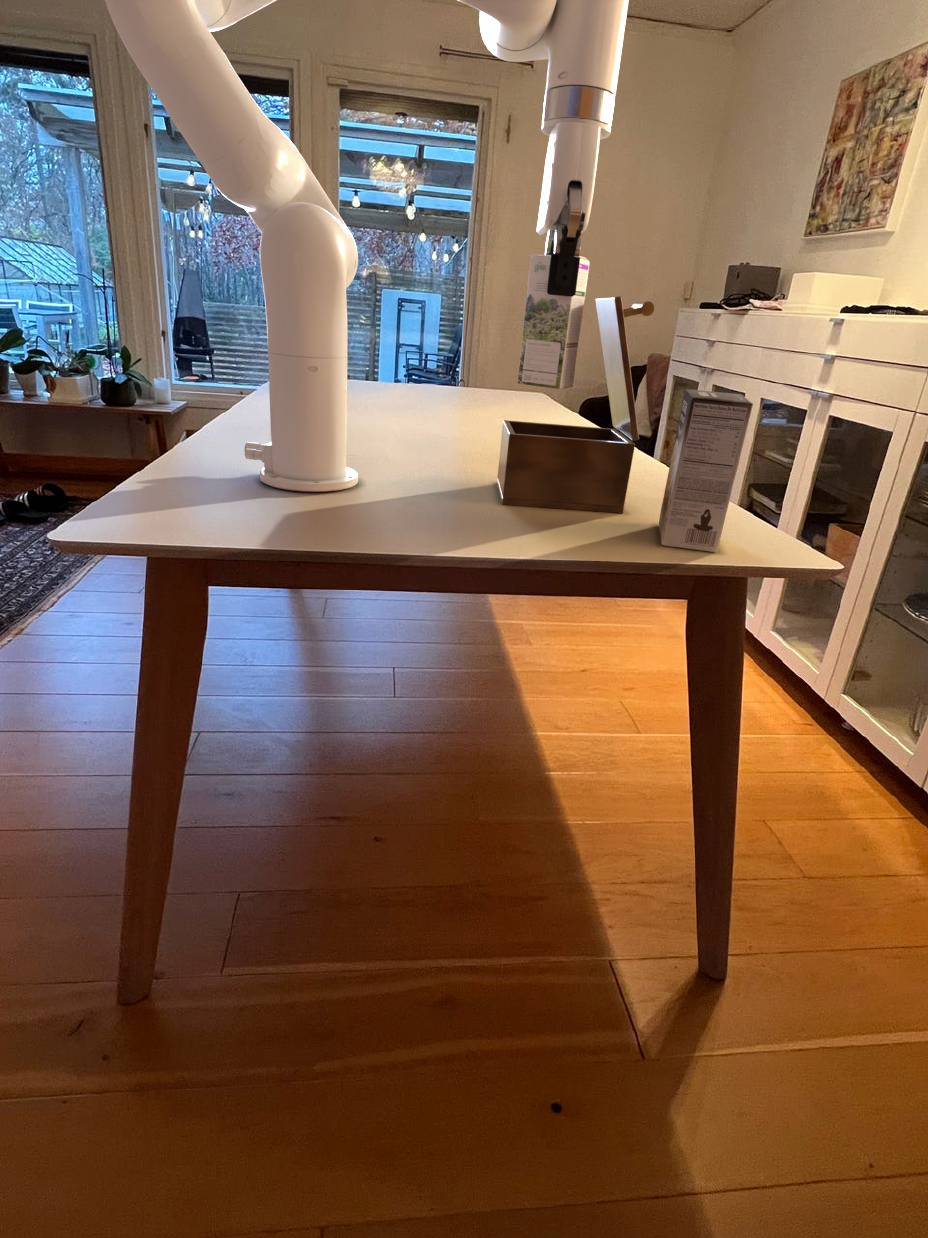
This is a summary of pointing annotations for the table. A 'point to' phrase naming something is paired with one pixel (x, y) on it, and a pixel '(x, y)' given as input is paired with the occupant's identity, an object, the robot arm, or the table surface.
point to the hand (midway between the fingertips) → (556, 294)
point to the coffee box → (703, 468)
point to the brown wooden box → (564, 466)
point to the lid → (619, 359)
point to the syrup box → (550, 328)
